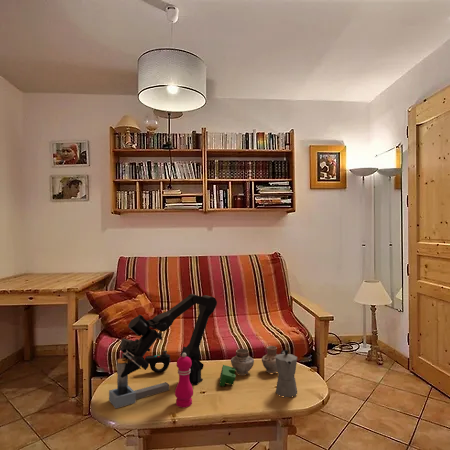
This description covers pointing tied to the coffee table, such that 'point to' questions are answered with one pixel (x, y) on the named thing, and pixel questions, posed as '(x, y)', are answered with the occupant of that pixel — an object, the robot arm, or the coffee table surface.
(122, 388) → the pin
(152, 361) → the controller
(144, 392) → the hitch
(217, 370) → the coffee table surface
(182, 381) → the pepper mill
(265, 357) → the pottery
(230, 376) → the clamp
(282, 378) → the coffeepot
